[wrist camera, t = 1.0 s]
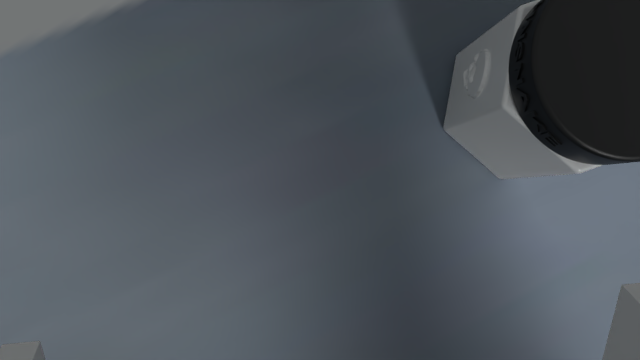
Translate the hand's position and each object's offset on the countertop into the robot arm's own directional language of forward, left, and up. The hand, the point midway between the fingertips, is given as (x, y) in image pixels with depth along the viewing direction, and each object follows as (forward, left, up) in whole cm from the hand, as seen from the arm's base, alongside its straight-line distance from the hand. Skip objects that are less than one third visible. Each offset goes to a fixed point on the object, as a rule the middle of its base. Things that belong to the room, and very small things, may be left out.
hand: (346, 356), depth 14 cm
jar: (+3, -15, -21) cm, 26 cm away
